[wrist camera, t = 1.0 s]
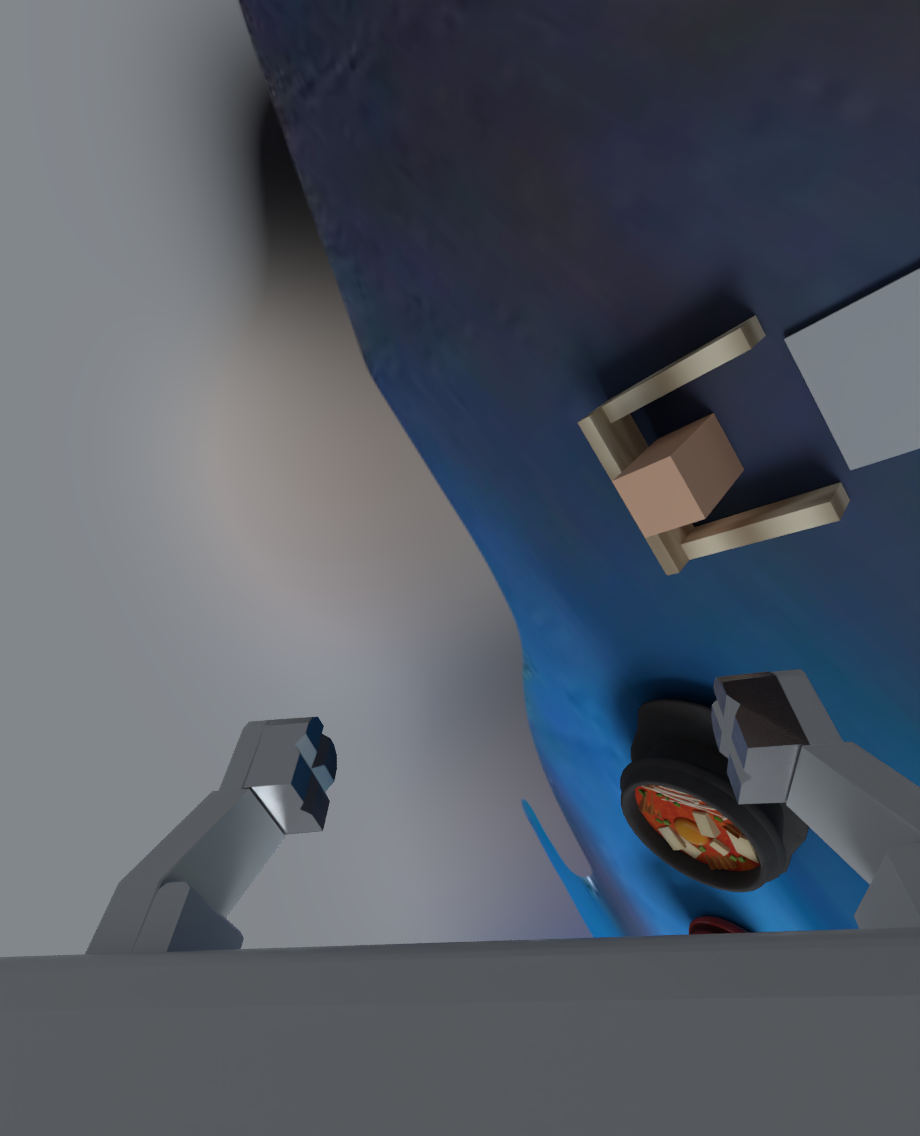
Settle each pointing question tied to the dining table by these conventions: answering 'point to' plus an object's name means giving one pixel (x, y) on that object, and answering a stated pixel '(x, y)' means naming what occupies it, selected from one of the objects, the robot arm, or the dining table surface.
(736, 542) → the wooden arch frame
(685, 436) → the block
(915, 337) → the grey mat
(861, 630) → the dining table surface
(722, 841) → the casserole
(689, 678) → the dining table surface
